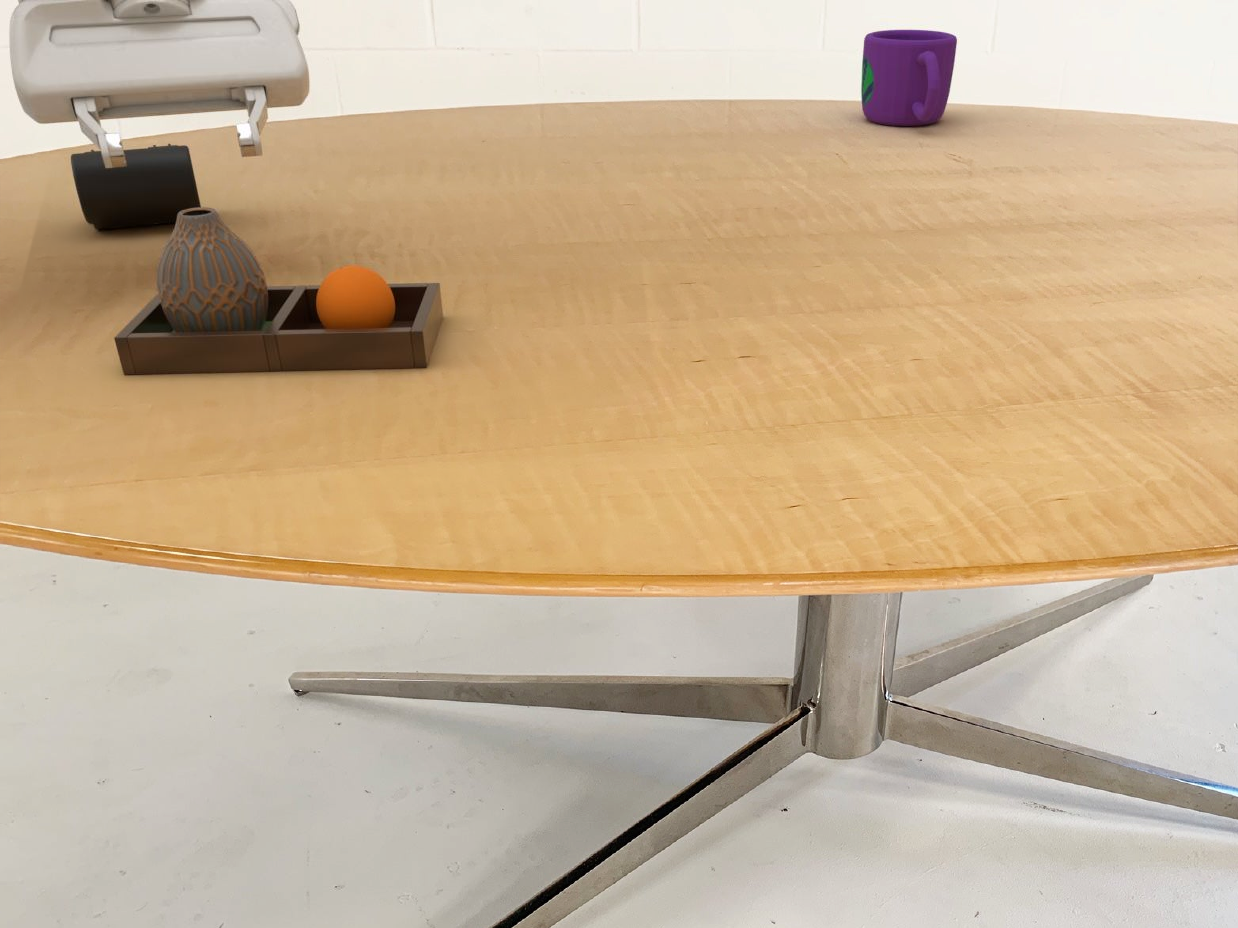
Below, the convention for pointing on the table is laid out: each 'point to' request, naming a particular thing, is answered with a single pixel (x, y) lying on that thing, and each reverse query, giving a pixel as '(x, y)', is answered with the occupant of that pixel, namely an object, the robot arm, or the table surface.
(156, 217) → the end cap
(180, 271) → the vase
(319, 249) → the table surface
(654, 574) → the table surface
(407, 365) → the tray
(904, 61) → the mug
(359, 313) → the clementine
